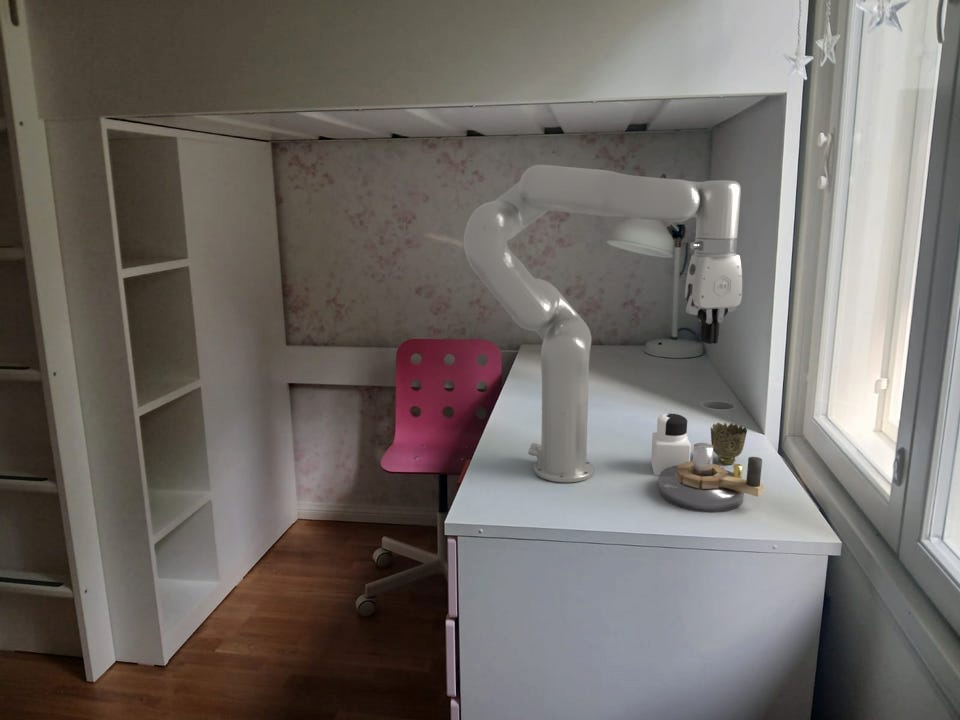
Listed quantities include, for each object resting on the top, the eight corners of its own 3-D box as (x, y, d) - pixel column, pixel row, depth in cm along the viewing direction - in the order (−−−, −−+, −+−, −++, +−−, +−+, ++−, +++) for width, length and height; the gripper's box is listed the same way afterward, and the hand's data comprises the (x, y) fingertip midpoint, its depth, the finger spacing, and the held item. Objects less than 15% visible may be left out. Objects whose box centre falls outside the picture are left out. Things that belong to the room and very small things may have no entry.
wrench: (667, 479, 141) (669, 447, 139) (689, 465, 148) (691, 434, 146) (750, 503, 131) (753, 468, 129) (769, 486, 137) (772, 453, 136)
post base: (643, 496, 142) (645, 447, 139) (681, 471, 153) (684, 426, 151) (722, 520, 131) (726, 468, 129) (756, 492, 143) (761, 444, 140)
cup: (716, 453, 163) (718, 419, 161) (749, 461, 158) (752, 426, 156) (702, 463, 157) (705, 428, 155) (736, 471, 153) (739, 435, 151)
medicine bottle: (684, 464, 157) (687, 411, 154) (689, 477, 150) (692, 422, 147) (650, 462, 158) (653, 410, 155) (653, 475, 151) (656, 421, 148)
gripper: (693, 250, 131) (687, 349, 136) (761, 247, 136) (753, 343, 140) (670, 247, 138) (665, 341, 143) (736, 244, 143) (729, 335, 147)
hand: (709, 342), depth 141 cm, fingers closed
